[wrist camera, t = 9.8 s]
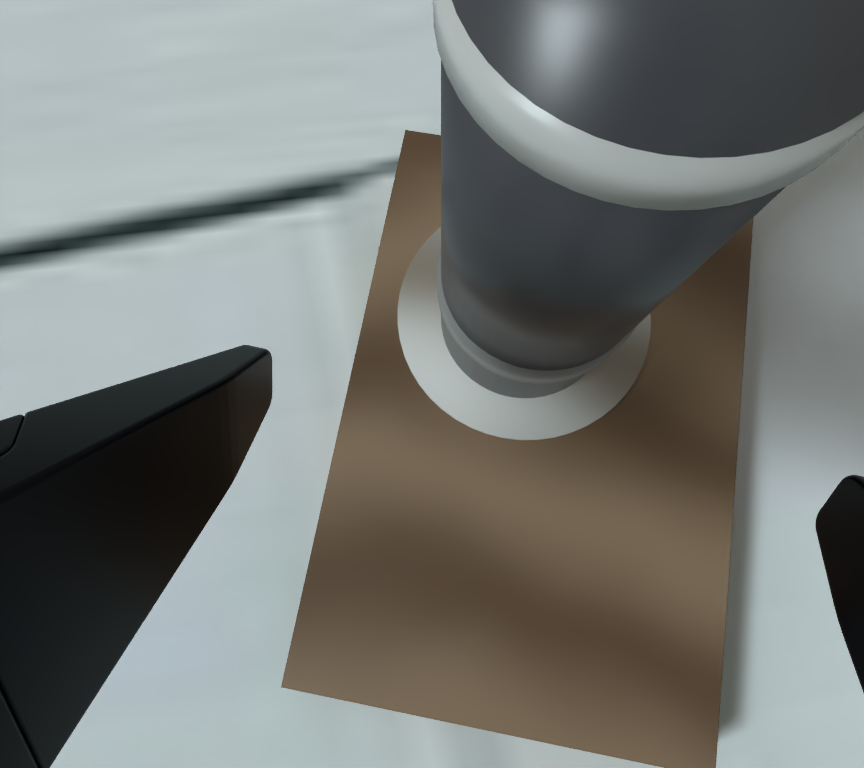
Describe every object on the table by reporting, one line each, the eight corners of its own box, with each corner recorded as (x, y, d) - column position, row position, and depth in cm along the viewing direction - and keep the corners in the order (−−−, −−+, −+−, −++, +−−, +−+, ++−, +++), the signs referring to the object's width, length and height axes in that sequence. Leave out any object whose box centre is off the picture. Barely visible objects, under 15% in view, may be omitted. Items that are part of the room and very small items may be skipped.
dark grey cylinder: (630, 380, 17) (1166, 17, 4) (458, 418, 17) (513, 152, 4) (582, 223, 18) (901, -416, 6) (421, 258, 18) (376, -324, 5)
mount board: (690, 754, 16) (718, 781, 15) (294, 671, 17) (279, 689, 15) (732, 208, 20) (758, 181, 19) (407, 156, 21) (405, 126, 19)
